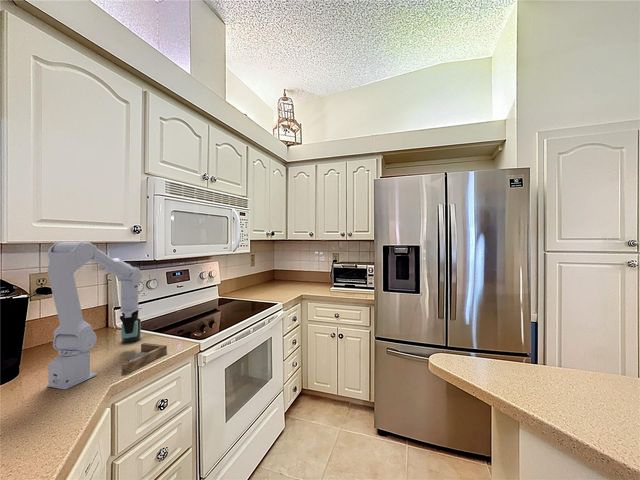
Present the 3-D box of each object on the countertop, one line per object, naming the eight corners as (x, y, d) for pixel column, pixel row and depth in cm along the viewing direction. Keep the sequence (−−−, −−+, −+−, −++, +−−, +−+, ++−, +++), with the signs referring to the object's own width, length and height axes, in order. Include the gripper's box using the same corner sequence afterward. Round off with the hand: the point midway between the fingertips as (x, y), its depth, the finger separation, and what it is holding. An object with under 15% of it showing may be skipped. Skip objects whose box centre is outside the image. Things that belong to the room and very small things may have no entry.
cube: (136, 336, 110) (136, 323, 110) (121, 338, 108) (121, 325, 108) (137, 332, 115) (137, 320, 115) (122, 334, 112) (122, 322, 112)
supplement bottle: (131, 343, 120) (131, 315, 120) (118, 342, 121) (118, 314, 121) (144, 338, 126) (144, 311, 126) (131, 336, 128) (131, 310, 128)
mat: (139, 361, 102) (139, 361, 102) (124, 359, 104) (124, 359, 104) (155, 354, 109) (155, 353, 109) (140, 352, 111) (140, 351, 111)
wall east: (163, 354, 108) (163, 347, 108) (141, 351, 111) (141, 344, 111) (166, 353, 110) (166, 345, 110) (144, 350, 113) (144, 342, 113)
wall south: (125, 374, 93) (125, 365, 93) (122, 373, 93) (121, 364, 93) (163, 354, 108) (163, 347, 108) (160, 354, 109) (160, 346, 109)
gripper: (140, 299, 107) (140, 334, 107) (142, 293, 120) (142, 324, 120) (118, 301, 103) (117, 338, 103) (122, 294, 116) (122, 327, 116)
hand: (129, 331), depth 111 cm, fingers closed on cube, 5 cm apart
